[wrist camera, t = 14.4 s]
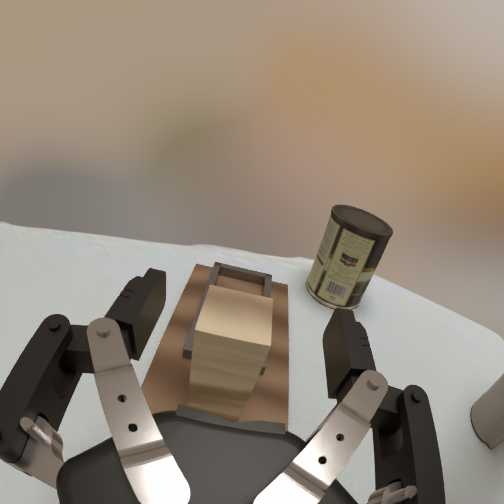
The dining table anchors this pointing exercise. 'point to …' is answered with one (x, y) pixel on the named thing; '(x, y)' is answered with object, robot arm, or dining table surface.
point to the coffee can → (347, 257)
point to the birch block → (229, 350)
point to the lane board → (182, 335)
